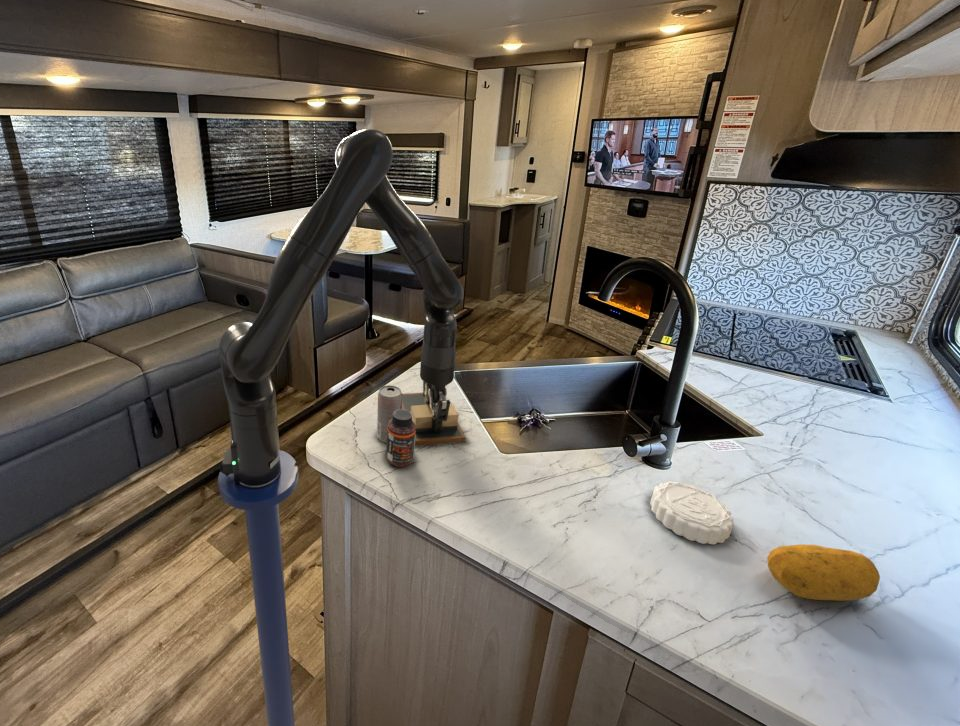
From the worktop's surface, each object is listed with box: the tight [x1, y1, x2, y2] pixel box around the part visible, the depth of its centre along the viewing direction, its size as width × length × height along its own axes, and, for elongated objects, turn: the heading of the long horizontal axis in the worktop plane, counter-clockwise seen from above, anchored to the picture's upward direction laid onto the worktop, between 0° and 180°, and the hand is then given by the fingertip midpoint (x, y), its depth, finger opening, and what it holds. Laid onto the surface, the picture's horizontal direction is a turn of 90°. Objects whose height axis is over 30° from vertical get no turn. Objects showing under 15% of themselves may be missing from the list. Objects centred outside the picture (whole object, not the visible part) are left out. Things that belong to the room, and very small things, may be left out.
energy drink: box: [376, 384, 403, 444], centre depth 104 cm, size 5×5×12 cm
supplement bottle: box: [385, 409, 416, 468], centre depth 96 cm, size 6×6×11 cm
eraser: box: [411, 402, 459, 432], centre depth 107 cm, size 10×5×4 cm, turn 97°
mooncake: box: [649, 481, 735, 545], centre depth 83 cm, size 12×12×4 cm
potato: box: [766, 544, 881, 602], centre depth 69 cm, size 7×14×7 cm, turn 85°
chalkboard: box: [402, 392, 467, 447], centre depth 112 cm, size 12×20×1 cm, turn 7°
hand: (433, 423), depth 108 cm, fingers closed on eraser, 5 cm apart
